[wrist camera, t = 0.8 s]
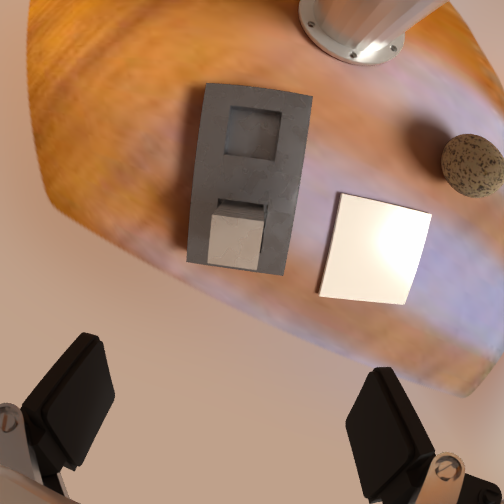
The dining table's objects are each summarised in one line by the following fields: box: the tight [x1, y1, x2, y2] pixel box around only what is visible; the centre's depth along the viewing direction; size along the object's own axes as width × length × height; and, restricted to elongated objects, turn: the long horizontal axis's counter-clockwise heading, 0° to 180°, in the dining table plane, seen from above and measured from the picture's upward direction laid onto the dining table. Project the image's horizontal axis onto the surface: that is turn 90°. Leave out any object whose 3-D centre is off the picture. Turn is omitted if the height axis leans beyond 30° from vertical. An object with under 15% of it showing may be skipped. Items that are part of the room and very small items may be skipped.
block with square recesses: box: [186, 83, 313, 276], centre depth 27 cm, size 18×10×3 cm, turn 172°
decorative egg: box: [441, 134, 504, 198], centre depth 22 cm, size 7×7×10 cm
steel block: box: [207, 199, 264, 270], centre depth 26 cm, size 4×4×8 cm
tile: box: [318, 193, 431, 305], centre depth 31 cm, size 12×12×1 cm
